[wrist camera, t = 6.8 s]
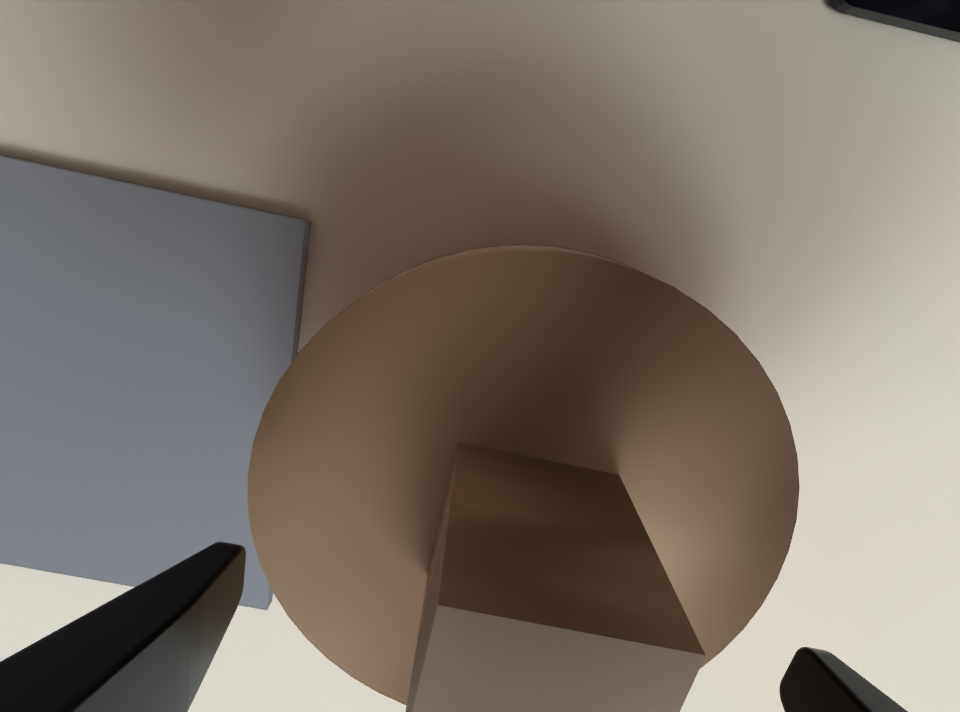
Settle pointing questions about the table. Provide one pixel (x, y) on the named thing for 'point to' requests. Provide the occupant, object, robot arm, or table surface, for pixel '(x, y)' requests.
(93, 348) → the mat
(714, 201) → the table surface
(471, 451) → the lid
